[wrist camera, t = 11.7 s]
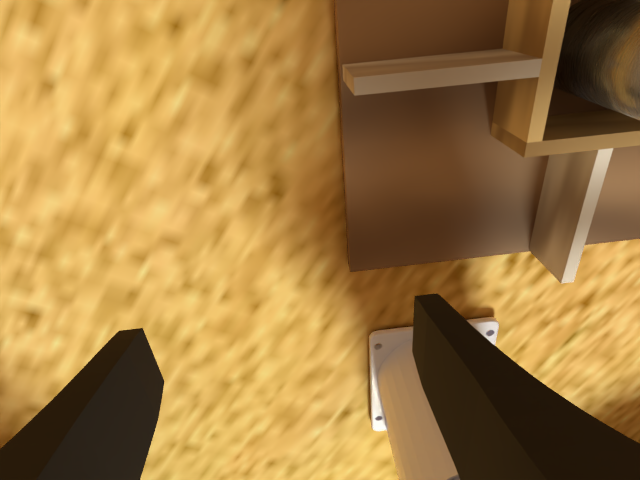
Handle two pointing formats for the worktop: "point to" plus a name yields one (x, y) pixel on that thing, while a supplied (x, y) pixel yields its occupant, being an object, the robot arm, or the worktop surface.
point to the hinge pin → (602, 54)
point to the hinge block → (474, 137)
